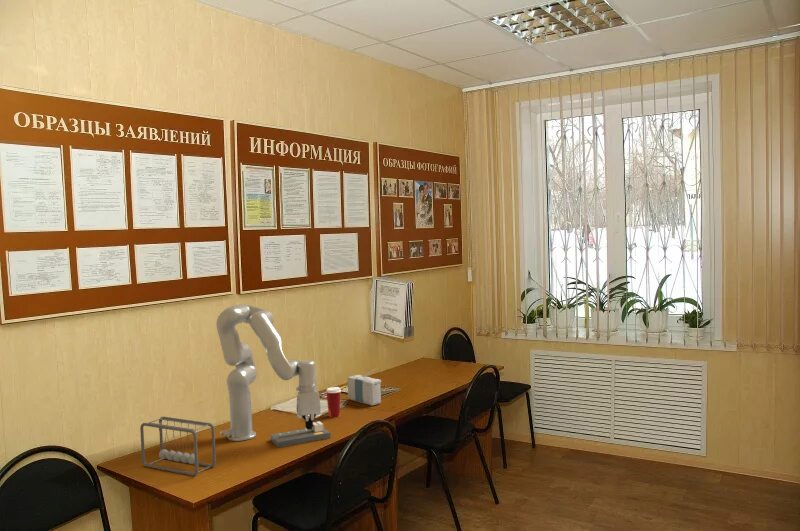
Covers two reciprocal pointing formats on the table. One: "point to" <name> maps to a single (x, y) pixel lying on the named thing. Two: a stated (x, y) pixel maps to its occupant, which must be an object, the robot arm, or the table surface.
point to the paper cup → (333, 401)
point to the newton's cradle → (178, 455)
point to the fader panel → (298, 437)
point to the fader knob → (317, 426)
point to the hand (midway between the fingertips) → (309, 428)
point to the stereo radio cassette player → (364, 389)
